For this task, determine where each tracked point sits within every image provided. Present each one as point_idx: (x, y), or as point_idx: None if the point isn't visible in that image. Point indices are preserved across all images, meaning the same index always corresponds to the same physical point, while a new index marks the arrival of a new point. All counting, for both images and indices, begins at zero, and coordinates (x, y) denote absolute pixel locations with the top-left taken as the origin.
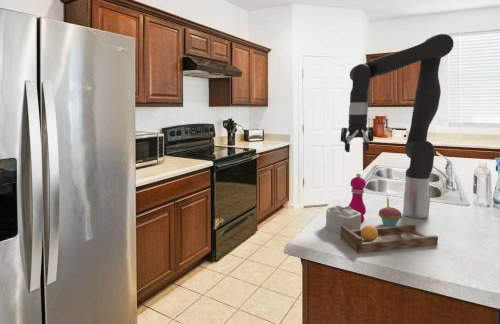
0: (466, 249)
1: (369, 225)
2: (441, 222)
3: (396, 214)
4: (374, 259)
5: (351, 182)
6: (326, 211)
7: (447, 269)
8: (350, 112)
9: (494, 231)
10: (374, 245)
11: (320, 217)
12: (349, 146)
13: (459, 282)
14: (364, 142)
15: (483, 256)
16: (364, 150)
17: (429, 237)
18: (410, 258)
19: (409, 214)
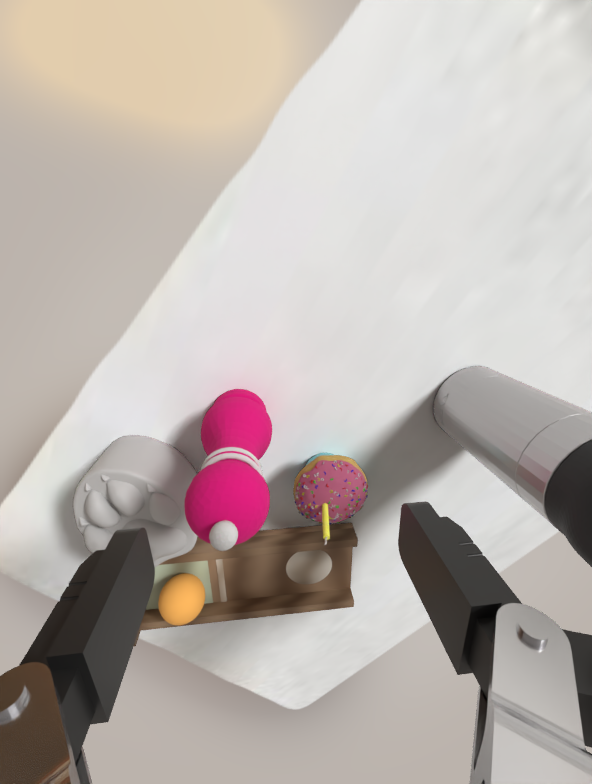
0: (388, 608)
1: (177, 619)
2: (488, 470)
3: (333, 523)
4: (163, 632)
5: (185, 508)
6: (74, 495)
7: (281, 665)
8: None
9: (546, 538)
10: None
11: (109, 361)
12: (121, 661)
13: (267, 694)
14: (473, 620)
15: (390, 632)
16: (403, 525)
17: (329, 608)
18: (243, 632)
19: (439, 423)
